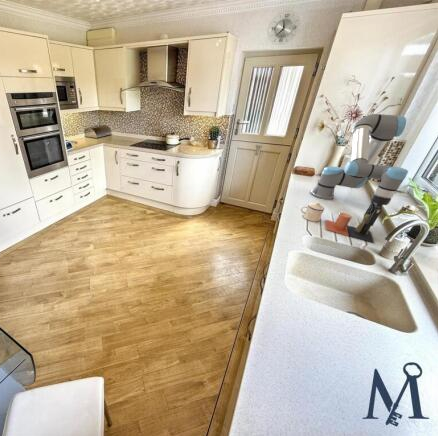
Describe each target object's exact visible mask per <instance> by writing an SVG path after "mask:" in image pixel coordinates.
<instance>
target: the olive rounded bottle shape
mask: <svg viewBox="0 0 438 436" xmlns="http://www.w3.org/2000/svg"><path fill="white" fill-rule="evenodd" d="M369 215H370V214H366V215H364V214H363V216H362V220H361V221H360V223H359V224H358V225H357V226H355V228H356V229H355V231H357V232H358V233H359V232H360V230H361V229H362V227H363V225H364V223H366V222H367V220H368V218H369ZM371 227H372V226H370V228H369V229H368V231H370V230H371ZM368 231H367V233H366V234H368Z"/></svg>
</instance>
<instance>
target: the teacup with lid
mask: <svg viewBox="0 0 438 436" xmlns="http://www.w3.org/2000/svg"><path fill="white" fill-rule="evenodd" d="M303 209H306V210H305V211H303ZM324 211H325V207H324V206H323V205H321V202H318V201H316V202H310V203H308V204H307V206H306V205H303V206H301V207H300V212H301V213H302V214H303V218H304V219H305V220H307V221H310V222H315V223H316V222H319V220H321V219H320V218H321V216H322V214H323V212H324Z"/></svg>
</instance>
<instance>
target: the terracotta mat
mask: <svg viewBox="0 0 438 436" xmlns="http://www.w3.org/2000/svg"><path fill="white" fill-rule="evenodd" d="M334 223H335V221H332V220H328V219H325V230H326V231H329V232H332V233H335V234H339V235H343V236H346V237H350V236H349V232H348V227H346V228H345V230H338V229H336V228H334V227H333V225H334Z"/></svg>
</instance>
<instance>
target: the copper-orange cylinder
mask: <svg viewBox="0 0 438 436" xmlns="http://www.w3.org/2000/svg"><path fill="white" fill-rule="evenodd" d="M351 220H352V215H351V214H349V213H346V212H339V214H338V216H337V218H336V219H335V221H334V222H335V223H334V225H333V227H334V228H336V229H338V230H345V228H346V227H347V226H349V223H350V221H351ZM347 228H348V227H347Z"/></svg>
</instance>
